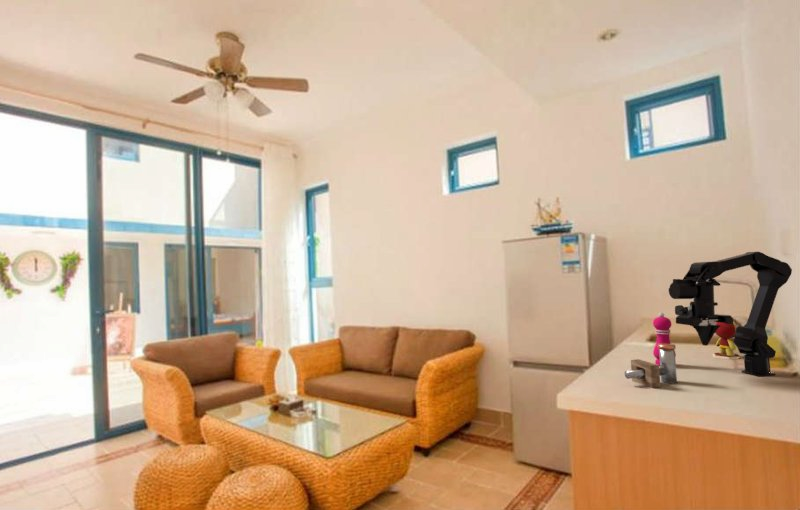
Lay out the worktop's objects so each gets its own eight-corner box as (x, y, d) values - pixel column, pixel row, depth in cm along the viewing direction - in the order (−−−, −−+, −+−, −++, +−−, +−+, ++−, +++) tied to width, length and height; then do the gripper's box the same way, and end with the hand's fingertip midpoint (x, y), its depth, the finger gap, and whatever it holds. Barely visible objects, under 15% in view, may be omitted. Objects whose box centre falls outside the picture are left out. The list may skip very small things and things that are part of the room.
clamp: (669, 378, 141) (667, 342, 141) (682, 382, 136) (679, 345, 136) (622, 383, 138) (620, 346, 139) (633, 387, 133) (630, 349, 134)
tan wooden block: (640, 380, 141) (638, 359, 142) (660, 387, 132) (658, 364, 133) (632, 380, 141) (630, 359, 141) (652, 388, 132) (650, 365, 132)
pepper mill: (680, 367, 155) (676, 313, 156) (658, 367, 156) (654, 313, 157) (671, 363, 162) (667, 311, 163) (651, 363, 163) (647, 311, 164)
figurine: (747, 358, 163) (744, 319, 164) (722, 359, 163) (719, 321, 164) (730, 354, 172) (727, 317, 173) (706, 355, 172) (703, 318, 172)
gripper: (702, 297, 153) (703, 340, 152) (661, 298, 148) (662, 342, 147) (733, 299, 142) (735, 345, 141) (690, 300, 137) (692, 348, 136)
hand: (705, 345), depth 142 cm, fingers closed
